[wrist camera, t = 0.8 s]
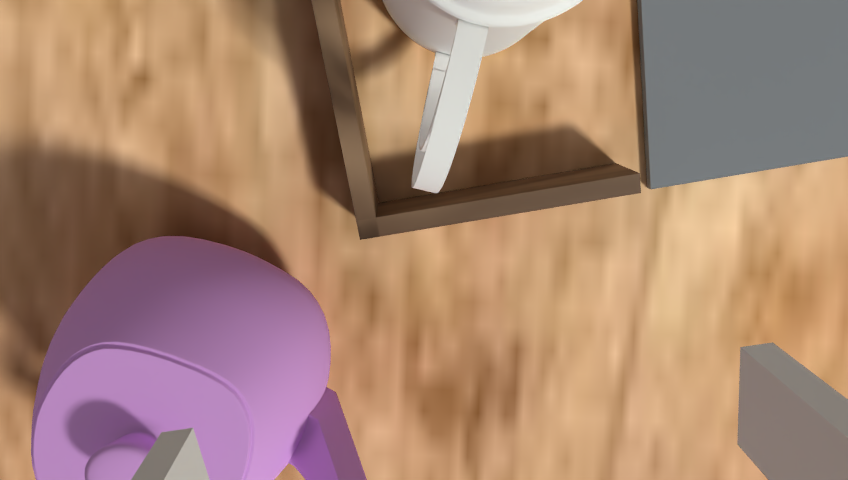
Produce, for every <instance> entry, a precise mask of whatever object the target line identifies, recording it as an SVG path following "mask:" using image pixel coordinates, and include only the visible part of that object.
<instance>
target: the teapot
mask: <svg viewBox="0 0 848 480" xmlns="http://www.w3.org/2000/svg"><path fill="white" fill-rule="evenodd" d="M330 357H331V345H330V336H329V329H328V326H327V322H326V319H325V316H324V313H323V311H322V309H321V307H320V306H319V304H318V302H317V300H316V299H315V298H314V296H313V295H312V294H311V292H310V291H309V290H308V289H307V288H306V287H305V286H304V285H303V284H302V283H300V282H299V281H298V280H297V279H295V278H294V277H292V276H291V275H289V274H288V273H286V272H285V271H283V270H282V269H280V268H278V267H276V266H274V265H272V264H270V263H269V262H267V261H265V260H263V259H261V258H259V257H256V256H254V255H252V254H250V253H247V252H245V251H242V250H239V249H236V248H233V247H230V246H227V245H224V244H220V243H216V242H212V241H208V240H204V239H199V238H192V237H186V236H161V237H156V238H151V239H147V240H144V241H141V242H139V243H136V244H134V245H132V246H130V247H129V248H127V249H126V250H124V251H122V252H121V253H119V254H118V255H117V256H115V257H114V258H113V259H111V260H110V261H109V262H108V263H107V264H106V265H105V266H104V267H103V268H102V269H101V270H100V271H99V272H98V273H97V274H96V275H95V276H94V277H93V278H92V279H91V280H90V282H89V283H88V284H87V285H86V286H85V287H84V289H83V290H82V291H81V292H80V294H79V295H78V296H77V298H76V299H75V301H74V302H73V303H72V305H71V306H70V308H69V309H68V311H67V312H66V314H65V315H64V317H63V319H62V321H61V323H60V324H59V326H58V328H57V330H56V332H55V334H54V336H53V338H52V340H51V342H50V345H49V348H48V351H47V354H46V356H45V359H44V363H43V366H42V369H41V373H40V378H39V382H38V387H37V393H36V398H35V404H34V410H33V420H32V438H31V456H32V465H33V470H34V474H35V478H36V480H131V479H132V477H133V476H134V474H135V473H136V471H137V470H138V468H139V467H140V465H141V463H142V462H143V460H144V459H145V457H146V456H147V454H148V452H149V451H150V449H151V448H152V446H153V445H154V443H155V441H156V440H157V438H158V437H159V435H160V434H161V432H167V431H174V430H180V429H187V428H193V429H194V432H195V435H196V438H197V441H198V445H199V448H200V451H201V454H202V457H203V461H204V464H205V467H206V470H207V473H208V476H209V480H274V479H275V478H276V477H277V476H278V475H279V474H280V472H281V471H282V470H283V469H284V468H285V467H286V465H287V464H288V463H290V464H291V465H293V466H295V468H296V469H297V470H298V471H299V472H300V473H301V475H302V476H303V477H304V478H305V479H306V480H367V479H366V476H365V473H364V470H363V468H362V465H361V462H360V459H359V456H358V453H357V451H356V448H355V445H354V442H353V439H352V436H351V434H350V431H349V428H348V425H347V422H346V419H345V417H344V414H343V411H342V408H341V405H340V402H339V400H338V397H337V394H336V392H334V391H333V390H331V389H329V388H327V382H328V378H329V370H330Z"/></svg>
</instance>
